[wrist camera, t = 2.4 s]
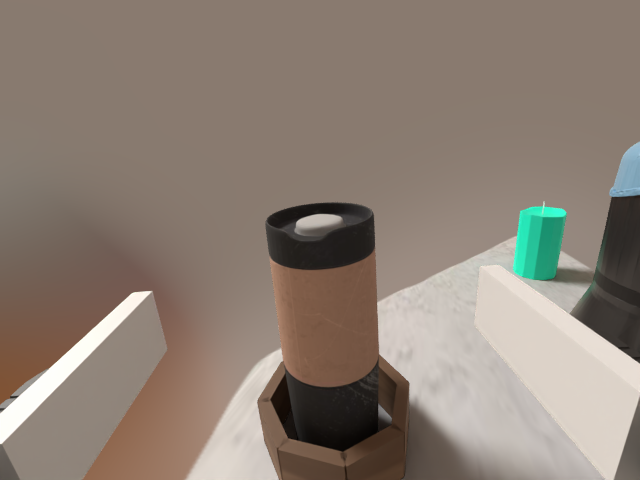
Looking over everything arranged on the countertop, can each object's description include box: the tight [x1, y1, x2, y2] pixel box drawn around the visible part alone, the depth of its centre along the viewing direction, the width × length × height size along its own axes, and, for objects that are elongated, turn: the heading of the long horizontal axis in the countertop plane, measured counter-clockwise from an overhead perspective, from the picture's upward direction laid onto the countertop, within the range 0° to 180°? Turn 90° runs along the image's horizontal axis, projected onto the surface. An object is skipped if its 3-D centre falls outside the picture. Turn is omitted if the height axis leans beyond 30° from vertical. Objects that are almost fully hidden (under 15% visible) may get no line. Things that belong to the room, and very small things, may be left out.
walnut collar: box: [257, 355, 409, 480], centre depth 28 cm, size 12×12×4 cm
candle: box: [513, 202, 567, 280], centre depth 52 cm, size 6×6×12 cm
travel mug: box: [266, 202, 379, 452], centre depth 26 cm, size 8×8×20 cm
